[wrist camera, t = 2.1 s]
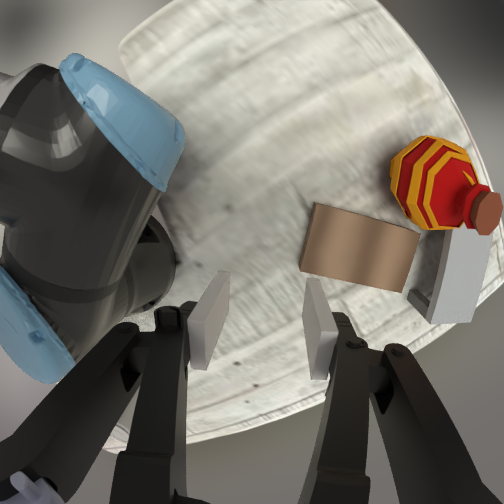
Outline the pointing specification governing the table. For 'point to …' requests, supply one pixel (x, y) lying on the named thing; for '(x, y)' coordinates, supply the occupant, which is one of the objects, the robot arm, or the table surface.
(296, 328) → the table surface
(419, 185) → the potion bottle
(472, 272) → the shelf
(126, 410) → the beverage can
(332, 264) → the panel
